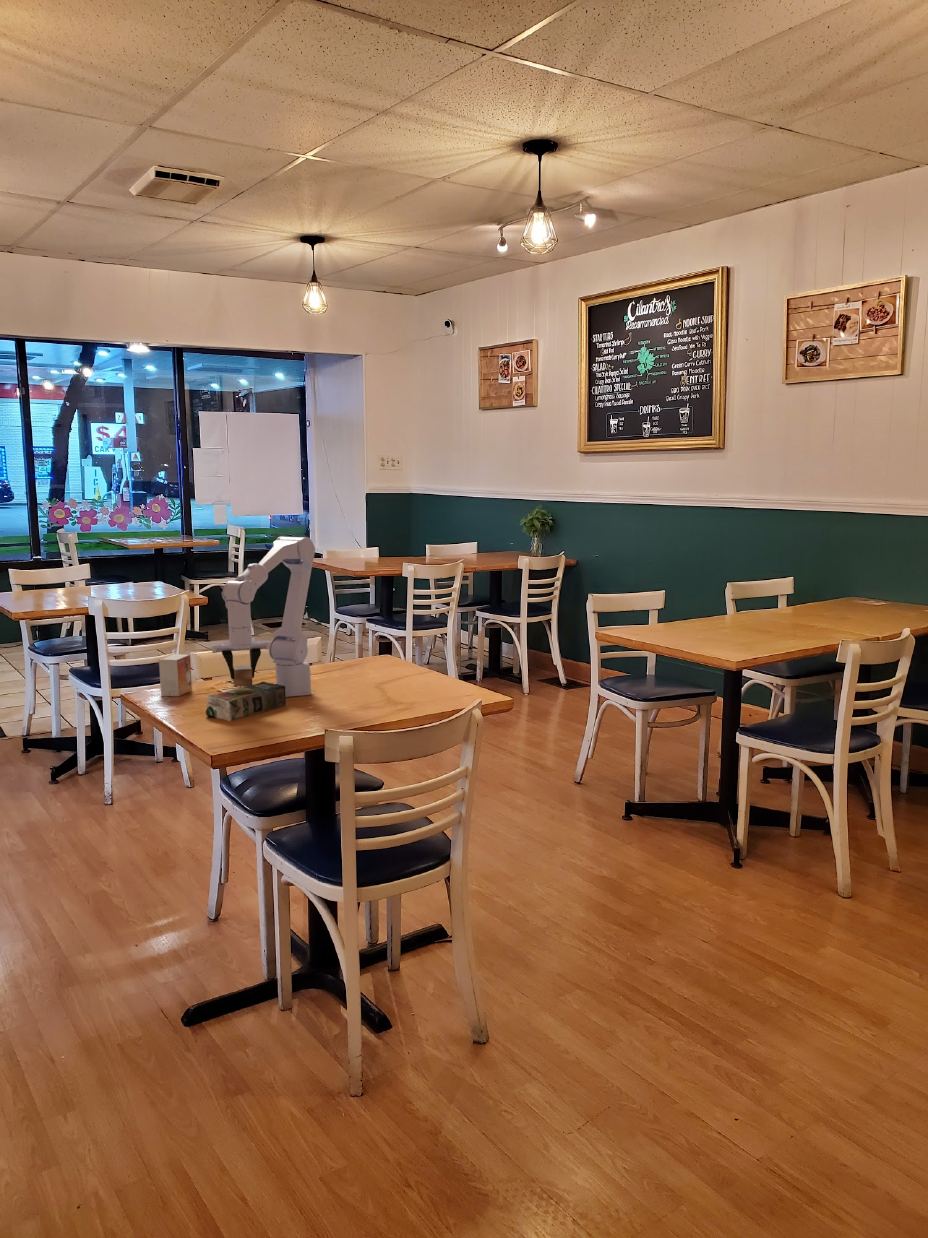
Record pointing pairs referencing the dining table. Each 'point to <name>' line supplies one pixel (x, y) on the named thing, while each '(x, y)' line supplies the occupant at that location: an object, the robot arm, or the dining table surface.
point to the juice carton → (246, 701)
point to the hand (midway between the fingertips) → (242, 677)
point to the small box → (175, 675)
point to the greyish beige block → (242, 676)
